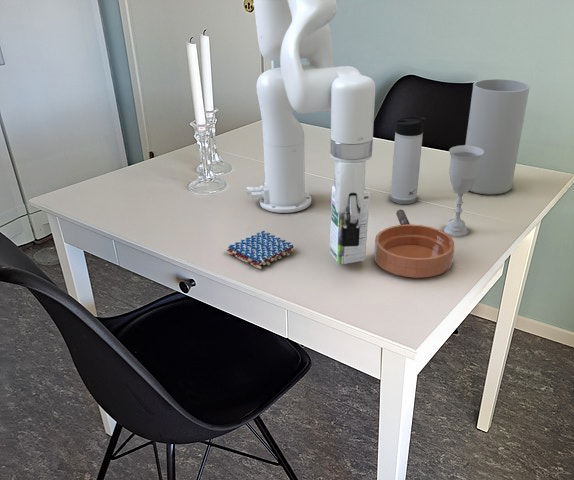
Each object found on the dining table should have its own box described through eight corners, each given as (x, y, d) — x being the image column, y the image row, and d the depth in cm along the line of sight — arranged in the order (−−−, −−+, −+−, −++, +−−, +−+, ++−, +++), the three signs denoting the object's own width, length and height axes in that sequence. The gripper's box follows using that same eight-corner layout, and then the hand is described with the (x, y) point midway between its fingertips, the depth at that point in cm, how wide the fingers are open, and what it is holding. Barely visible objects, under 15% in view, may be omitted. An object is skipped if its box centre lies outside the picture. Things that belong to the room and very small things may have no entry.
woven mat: (224, 254, 126) (223, 245, 125) (262, 237, 132) (262, 228, 131) (258, 271, 119) (257, 262, 118) (296, 252, 125) (296, 243, 124)
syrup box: (328, 252, 122) (329, 184, 115) (355, 248, 124) (358, 180, 116) (338, 265, 118) (340, 196, 110) (367, 260, 119) (370, 191, 112)
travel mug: (417, 205, 145) (425, 122, 134) (389, 203, 146) (395, 121, 135) (418, 195, 150) (425, 114, 140) (391, 194, 151) (396, 113, 141)
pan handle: (411, 232, 126) (411, 225, 125) (402, 233, 126) (403, 225, 125) (403, 215, 134) (404, 207, 133) (395, 215, 134) (395, 208, 133)
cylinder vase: (489, 199, 146) (507, 94, 134) (449, 185, 155) (462, 84, 142) (521, 187, 153) (541, 85, 140) (481, 173, 161) (496, 76, 148)
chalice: (449, 221, 137) (459, 143, 127) (477, 229, 133) (489, 149, 124) (433, 232, 132) (442, 152, 123) (462, 241, 128) (474, 159, 119)
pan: (380, 281, 115) (381, 260, 112) (369, 244, 128) (370, 225, 125) (460, 279, 115) (463, 258, 113) (441, 242, 128) (443, 223, 126)
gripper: (327, 134, 117) (326, 218, 126) (334, 165, 102) (332, 258, 111) (366, 133, 117) (362, 217, 126) (378, 164, 102) (373, 257, 111)
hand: (348, 236), depth 118 cm, fingers closed on syrup box, 6 cm apart
